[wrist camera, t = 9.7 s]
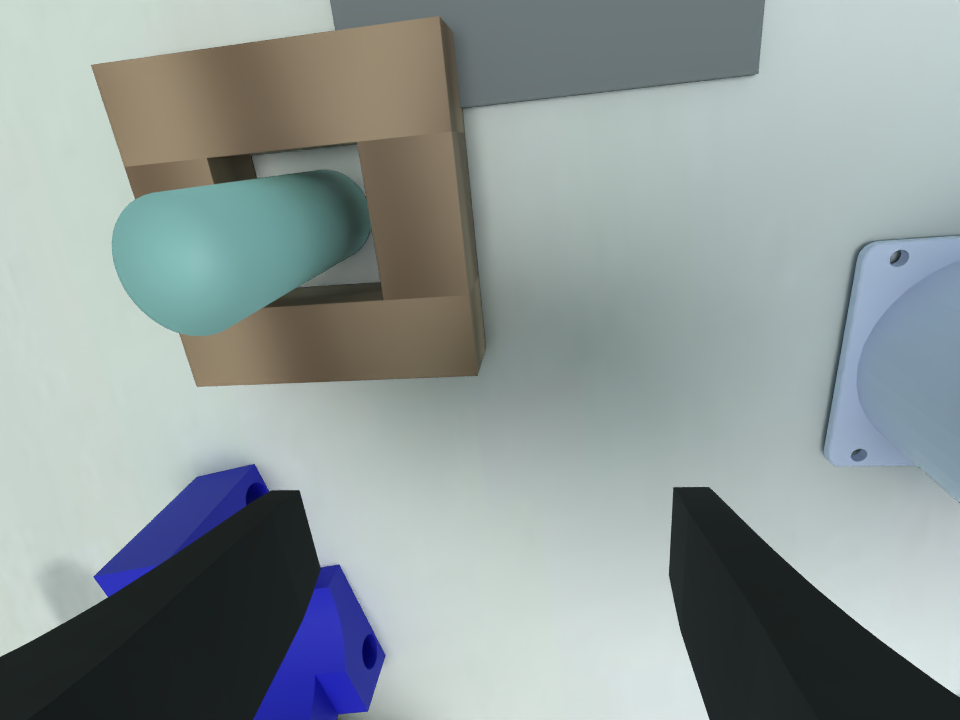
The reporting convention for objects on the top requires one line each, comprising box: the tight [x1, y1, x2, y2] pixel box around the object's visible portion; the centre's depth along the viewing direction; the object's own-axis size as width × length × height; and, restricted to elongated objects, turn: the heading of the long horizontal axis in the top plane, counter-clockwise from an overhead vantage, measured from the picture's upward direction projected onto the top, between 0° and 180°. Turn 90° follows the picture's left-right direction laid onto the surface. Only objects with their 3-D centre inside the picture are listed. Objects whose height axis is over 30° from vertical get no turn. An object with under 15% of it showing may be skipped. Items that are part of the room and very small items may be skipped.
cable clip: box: [94, 464, 385, 720], centre depth 22 cm, size 12×4×6 cm, turn 17°
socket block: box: [91, 16, 486, 387], centre depth 17 cm, size 10×10×2 cm
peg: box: [112, 170, 371, 336], centre depth 15 cm, size 3×3×8 cm
